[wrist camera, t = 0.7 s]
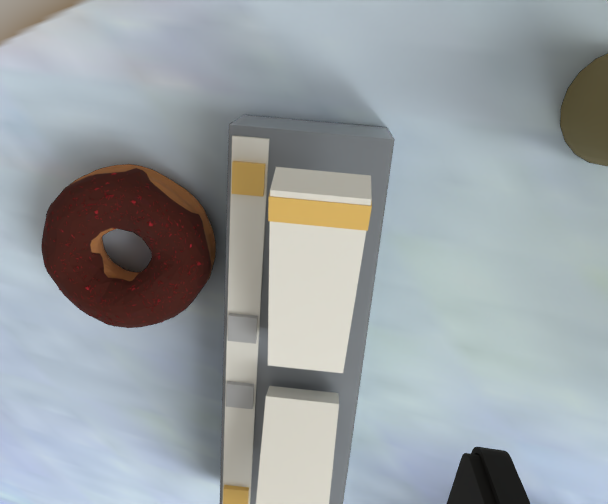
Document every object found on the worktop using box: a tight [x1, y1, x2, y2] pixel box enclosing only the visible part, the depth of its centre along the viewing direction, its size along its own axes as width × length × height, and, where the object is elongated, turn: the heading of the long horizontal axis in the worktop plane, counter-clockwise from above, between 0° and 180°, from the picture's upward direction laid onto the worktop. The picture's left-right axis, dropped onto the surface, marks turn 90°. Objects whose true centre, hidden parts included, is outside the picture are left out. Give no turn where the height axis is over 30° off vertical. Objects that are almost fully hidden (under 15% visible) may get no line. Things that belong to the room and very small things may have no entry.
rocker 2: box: [256, 386, 339, 504], centre depth 29 cm, size 4×11×2 cm, turn 175°
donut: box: [42, 164, 216, 328], centre depth 30 cm, size 10×10×4 cm
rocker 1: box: [268, 167, 372, 373], centre depth 25 cm, size 4×11×2 cm, turn 175°
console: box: [220, 115, 394, 504], centre depth 31 cm, size 8×27×6 cm, turn 175°
